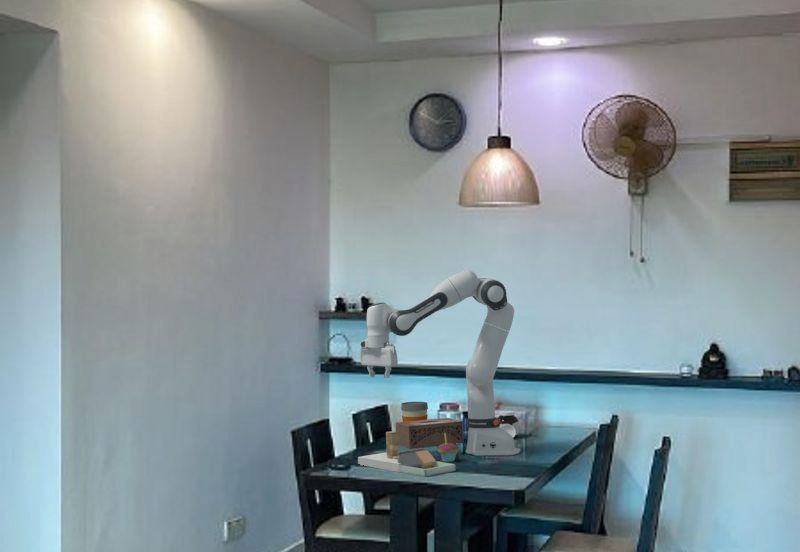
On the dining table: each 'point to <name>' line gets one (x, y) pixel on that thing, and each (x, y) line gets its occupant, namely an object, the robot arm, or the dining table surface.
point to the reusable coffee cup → (414, 411)
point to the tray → (429, 469)
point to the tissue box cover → (429, 432)
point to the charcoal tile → (409, 460)
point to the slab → (379, 462)
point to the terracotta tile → (425, 459)
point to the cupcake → (448, 451)
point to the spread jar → (509, 422)
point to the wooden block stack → (395, 446)
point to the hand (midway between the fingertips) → (379, 377)
